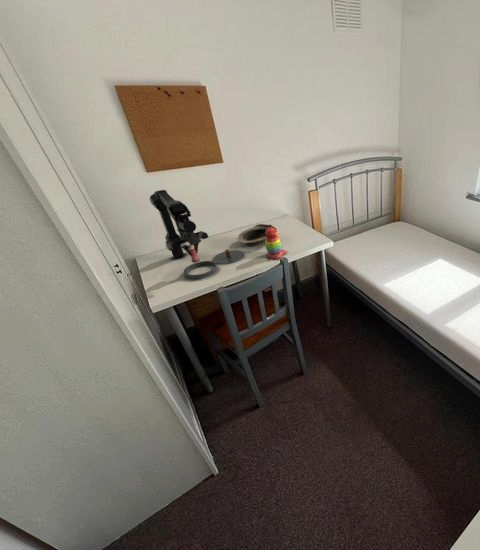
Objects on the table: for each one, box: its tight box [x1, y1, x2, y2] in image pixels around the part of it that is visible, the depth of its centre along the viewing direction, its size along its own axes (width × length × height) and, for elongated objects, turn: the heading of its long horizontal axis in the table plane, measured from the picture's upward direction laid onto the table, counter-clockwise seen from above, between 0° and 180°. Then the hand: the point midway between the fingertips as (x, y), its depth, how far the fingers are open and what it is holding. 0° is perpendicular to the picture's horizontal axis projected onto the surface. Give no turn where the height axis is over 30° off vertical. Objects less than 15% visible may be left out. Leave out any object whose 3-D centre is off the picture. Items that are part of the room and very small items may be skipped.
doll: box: [187, 243, 201, 264], centre depth 157 cm, size 4×4×10 cm
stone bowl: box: [237, 223, 278, 247], centre depth 195 cm, size 25×25×9 cm
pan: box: [183, 260, 219, 281], centre depth 163 cm, size 17×17×3 cm
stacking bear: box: [264, 227, 287, 260], centre depth 176 cm, size 11×10×18 cm
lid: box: [212, 248, 245, 265], centre depth 177 cm, size 18×18×6 cm
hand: (193, 254), depth 157 cm, fingers closed on doll, 3 cm apart
